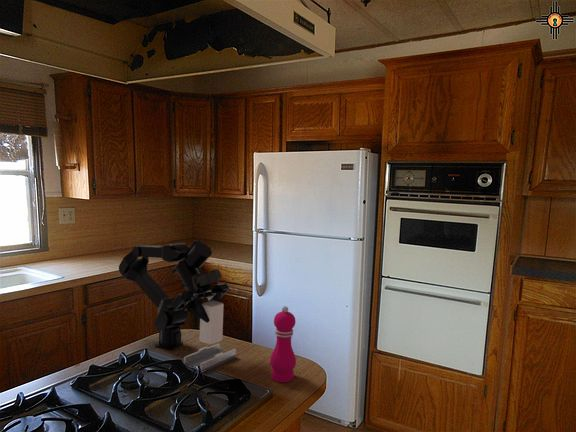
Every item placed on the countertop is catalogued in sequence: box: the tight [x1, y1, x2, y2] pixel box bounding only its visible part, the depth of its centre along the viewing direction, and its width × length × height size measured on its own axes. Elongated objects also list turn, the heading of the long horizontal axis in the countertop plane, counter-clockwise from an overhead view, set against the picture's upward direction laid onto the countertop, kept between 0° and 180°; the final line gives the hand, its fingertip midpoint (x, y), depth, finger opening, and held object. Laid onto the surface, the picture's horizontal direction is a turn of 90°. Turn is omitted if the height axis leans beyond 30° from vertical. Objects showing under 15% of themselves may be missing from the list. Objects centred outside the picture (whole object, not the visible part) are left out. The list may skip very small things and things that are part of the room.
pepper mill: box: [269, 305, 297, 383], centre depth 108 cm, size 7×7×20 cm
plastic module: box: [199, 300, 225, 345], centre depth 117 cm, size 4×5×11 cm
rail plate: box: [182, 342, 237, 371], centre depth 117 cm, size 8×14×3 cm, turn 145°
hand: (215, 319), depth 116 cm, fingers closed on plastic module, 5 cm apart
